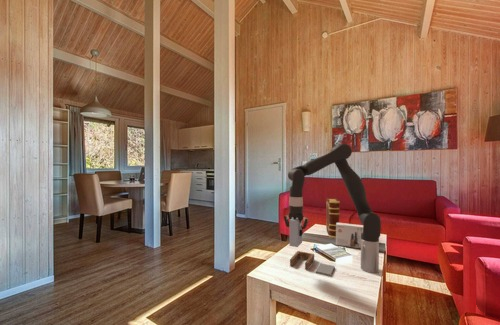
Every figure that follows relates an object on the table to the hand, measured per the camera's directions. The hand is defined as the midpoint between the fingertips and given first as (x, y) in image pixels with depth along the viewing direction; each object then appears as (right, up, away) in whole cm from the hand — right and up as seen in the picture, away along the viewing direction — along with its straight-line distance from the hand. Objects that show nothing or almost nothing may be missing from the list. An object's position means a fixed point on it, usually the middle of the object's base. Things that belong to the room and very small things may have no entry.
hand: (295, 235), depth 128 cm
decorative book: (+46, -22, +72) cm, 88 cm away
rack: (+6, -21, +11) cm, 25 cm away
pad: (+17, -21, +3) cm, 27 cm away
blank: (0, -5, 0) cm, 5 cm away
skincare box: (+49, -22, +42) cm, 68 cm away
